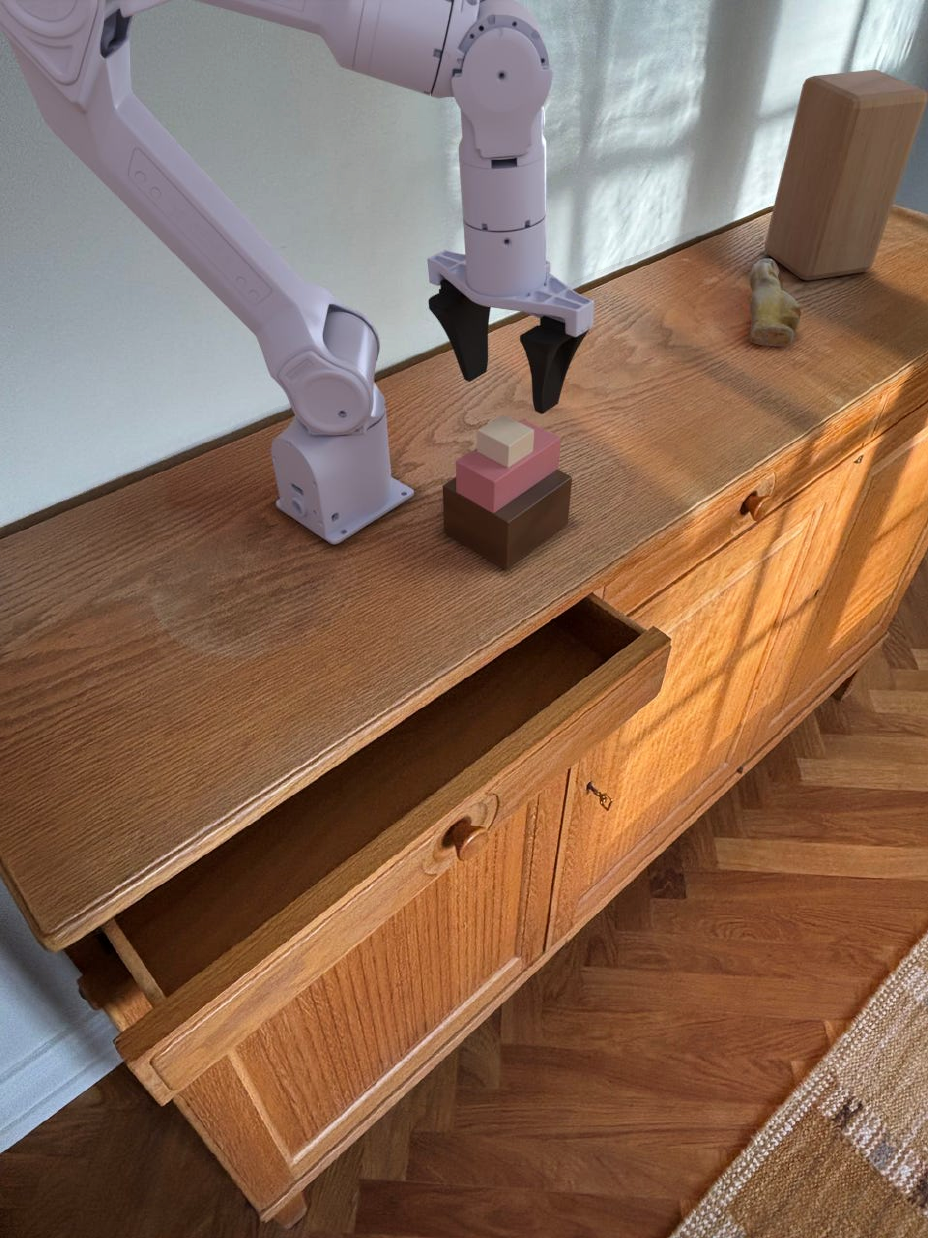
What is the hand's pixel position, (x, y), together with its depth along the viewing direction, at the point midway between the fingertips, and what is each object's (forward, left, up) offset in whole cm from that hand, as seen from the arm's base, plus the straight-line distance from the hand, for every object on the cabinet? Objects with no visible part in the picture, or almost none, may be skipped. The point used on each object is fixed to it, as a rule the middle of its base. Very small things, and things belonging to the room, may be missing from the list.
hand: (510, 391), depth 69 cm
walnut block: (-3, -3, -10) cm, 11 cm away
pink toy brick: (-3, -3, -5) cm, 7 cm away
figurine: (+46, 0, -11) cm, 47 cm away
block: (+63, +3, -11) cm, 63 cm away
